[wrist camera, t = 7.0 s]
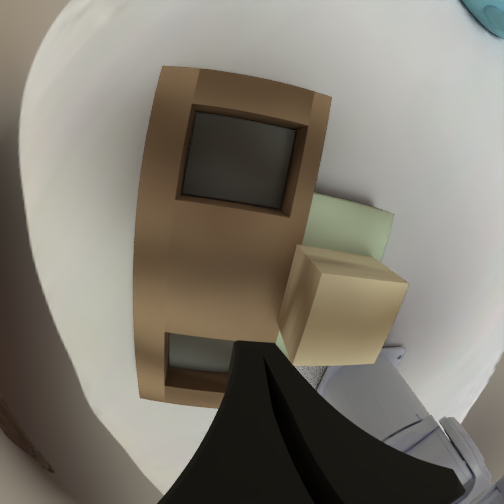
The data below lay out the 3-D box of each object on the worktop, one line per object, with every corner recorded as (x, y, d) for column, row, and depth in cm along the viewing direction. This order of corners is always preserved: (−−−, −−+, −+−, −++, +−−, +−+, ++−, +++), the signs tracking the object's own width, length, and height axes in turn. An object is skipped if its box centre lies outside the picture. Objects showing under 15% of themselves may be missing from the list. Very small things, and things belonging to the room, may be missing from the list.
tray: (310, 389, 22) (318, 408, 20) (145, 376, 20) (139, 397, 17) (388, 131, 16) (410, 129, 13) (170, 78, 13) (162, 65, 11)
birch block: (347, 326, 17) (374, 363, 13) (276, 322, 16) (292, 365, 12) (372, 256, 16) (409, 283, 12) (296, 244, 15) (321, 273, 11)
